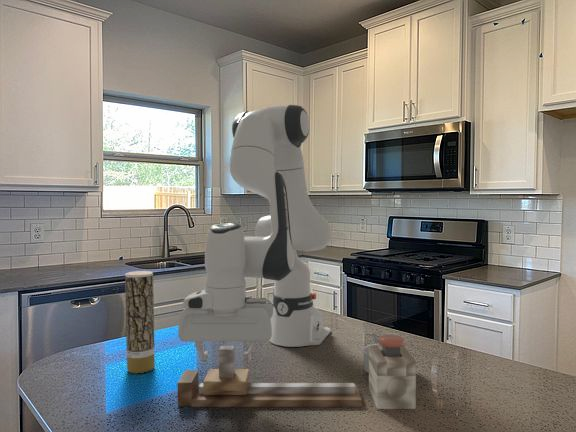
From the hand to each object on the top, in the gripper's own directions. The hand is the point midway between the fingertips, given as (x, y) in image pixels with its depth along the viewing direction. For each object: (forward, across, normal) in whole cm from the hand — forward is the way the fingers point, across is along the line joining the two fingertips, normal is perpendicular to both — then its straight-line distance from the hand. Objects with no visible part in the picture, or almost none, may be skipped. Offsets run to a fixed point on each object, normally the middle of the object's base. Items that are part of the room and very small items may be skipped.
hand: (225, 360), depth 98 cm
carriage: (+7, 0, 0) cm, 7 cm away
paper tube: (+9, +24, -17) cm, 31 cm away
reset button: (-1, -36, 0) cm, 36 cm away
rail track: (+8, -15, 0) cm, 17 cm away
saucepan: (+8, -38, -19) cm, 43 cm away
